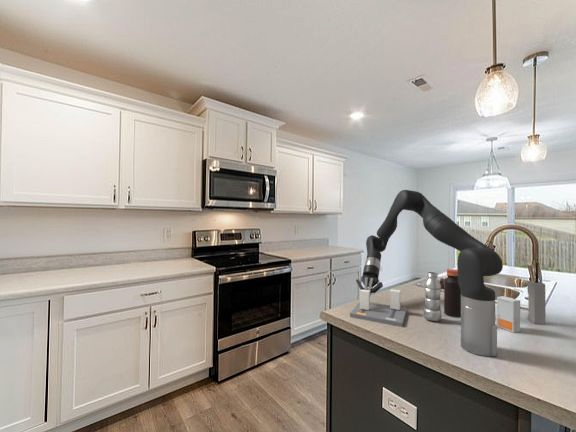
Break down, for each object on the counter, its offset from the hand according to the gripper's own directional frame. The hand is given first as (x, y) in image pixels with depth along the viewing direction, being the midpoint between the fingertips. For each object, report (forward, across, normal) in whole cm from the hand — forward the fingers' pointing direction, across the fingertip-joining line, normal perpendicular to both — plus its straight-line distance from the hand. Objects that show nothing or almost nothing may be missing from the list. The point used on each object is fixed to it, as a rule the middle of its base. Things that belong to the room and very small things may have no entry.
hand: (366, 299), depth 121 cm
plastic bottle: (+2, +27, +6) cm, 28 cm away
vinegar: (-7, +35, +15) cm, 39 cm away
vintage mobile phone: (-12, +65, +21) cm, 69 cm away
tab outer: (+4, 0, +1) cm, 4 cm away
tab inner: (-1, +12, +6) cm, 13 cm away
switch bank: (+4, +6, +4) cm, 8 cm away
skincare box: (-2, +53, +10) cm, 54 cm away
